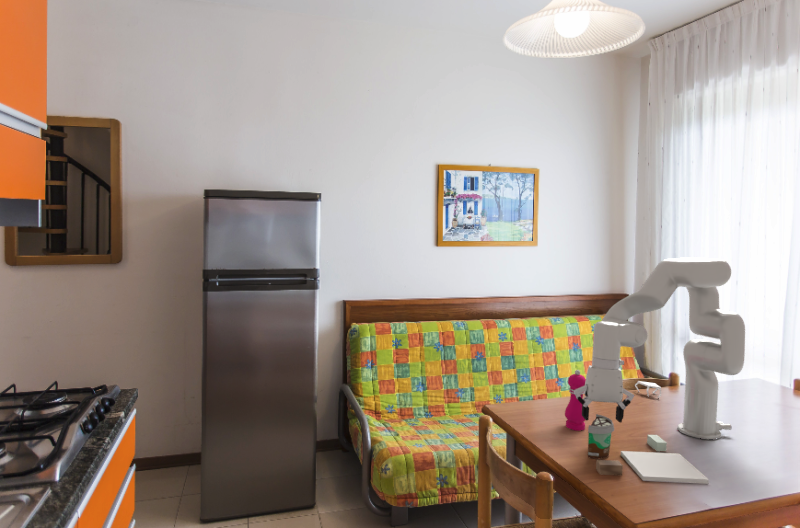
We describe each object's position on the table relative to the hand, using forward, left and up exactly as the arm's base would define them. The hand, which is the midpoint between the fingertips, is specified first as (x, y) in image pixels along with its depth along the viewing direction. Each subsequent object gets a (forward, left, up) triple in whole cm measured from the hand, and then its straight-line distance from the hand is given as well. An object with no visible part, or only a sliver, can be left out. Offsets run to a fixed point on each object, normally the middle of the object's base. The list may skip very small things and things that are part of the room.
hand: (602, 419), depth 150 cm
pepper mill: (+1, -21, -11) cm, 24 cm away
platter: (-15, +8, -11) cm, 19 cm away
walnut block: (+2, +12, -11) cm, 16 cm away
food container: (-1, 0, -11) cm, 11 cm away
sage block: (-20, -7, -11) cm, 23 cm away
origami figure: (-40, -63, -11) cm, 75 cm away
